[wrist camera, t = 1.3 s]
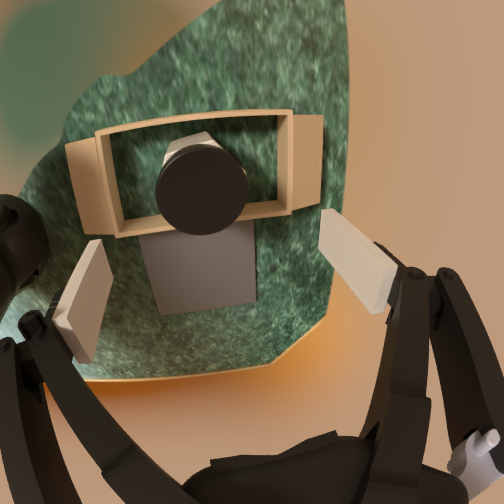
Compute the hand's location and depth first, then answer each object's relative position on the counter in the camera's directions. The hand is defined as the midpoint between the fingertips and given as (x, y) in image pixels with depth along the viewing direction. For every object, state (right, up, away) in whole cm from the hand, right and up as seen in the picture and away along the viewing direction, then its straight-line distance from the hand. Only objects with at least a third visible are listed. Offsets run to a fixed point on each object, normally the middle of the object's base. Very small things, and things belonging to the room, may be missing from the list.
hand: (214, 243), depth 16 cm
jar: (-5, +10, +18) cm, 21 cm away
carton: (-5, +10, +18) cm, 21 cm away
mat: (-5, -3, +25) cm, 26 cm away
